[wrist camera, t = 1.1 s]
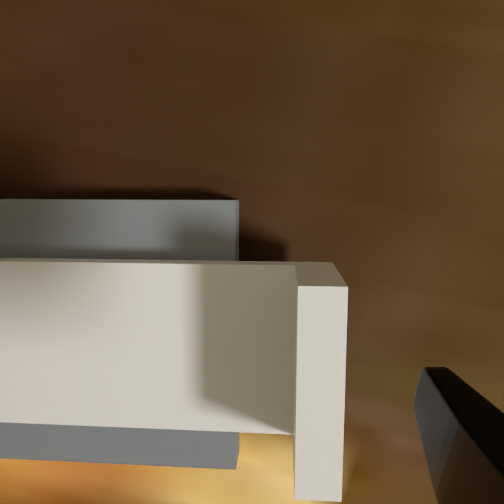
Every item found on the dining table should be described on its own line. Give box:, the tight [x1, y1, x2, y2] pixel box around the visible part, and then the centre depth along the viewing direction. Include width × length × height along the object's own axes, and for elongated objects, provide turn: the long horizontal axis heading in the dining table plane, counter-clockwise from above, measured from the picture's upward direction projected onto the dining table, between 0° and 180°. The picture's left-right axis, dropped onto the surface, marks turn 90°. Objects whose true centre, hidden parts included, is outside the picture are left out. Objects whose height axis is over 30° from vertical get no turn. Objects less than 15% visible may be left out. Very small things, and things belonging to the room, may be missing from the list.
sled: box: [0, 258, 348, 502], centre depth 17 cm, size 7×24×5 cm, turn 90°
